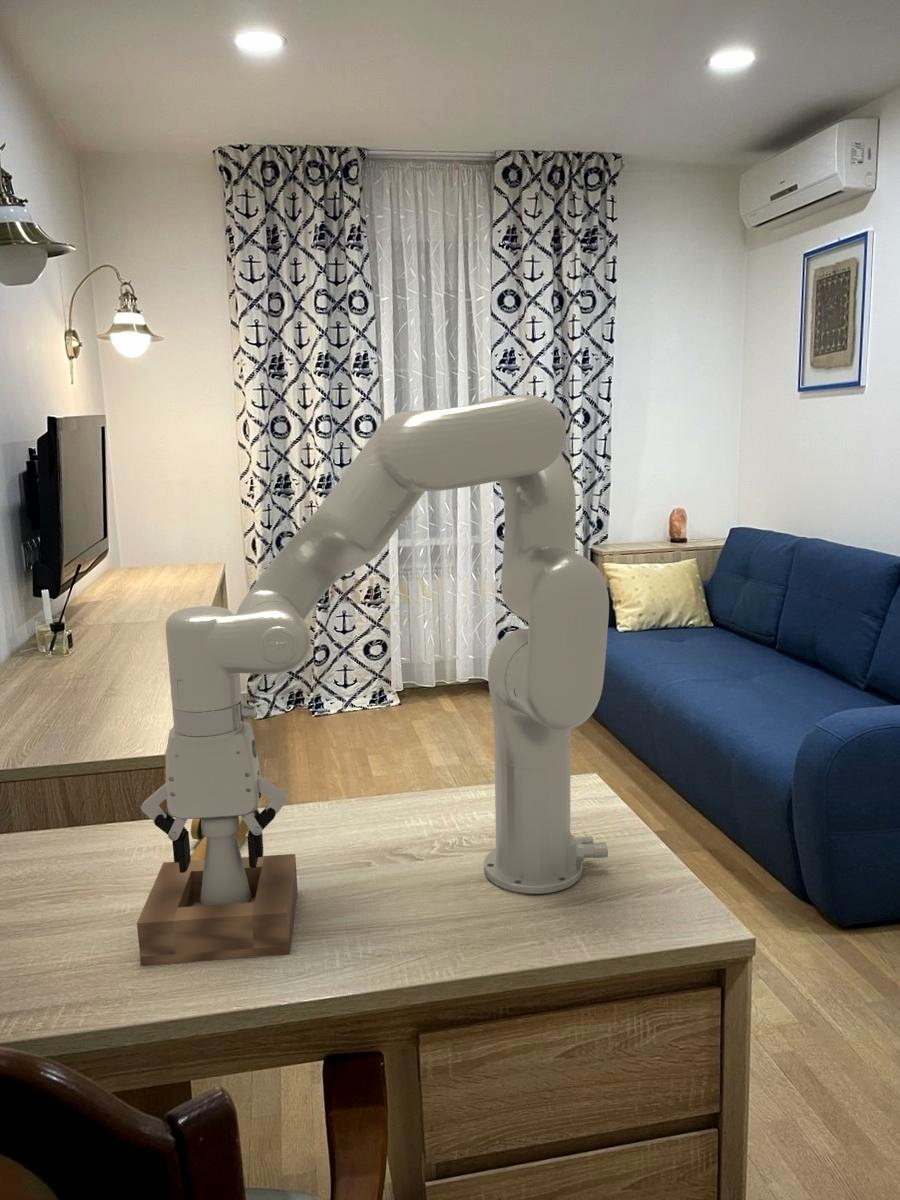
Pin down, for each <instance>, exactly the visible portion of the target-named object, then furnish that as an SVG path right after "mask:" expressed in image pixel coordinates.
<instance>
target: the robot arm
mask: <svg viewBox="0 0 900 1200" xmlns="http://www.w3.org/2000/svg"><path fill="white" fill-rule="evenodd" d="M566 432H567V429H566V423H565V420H564V418H563V416H562V413H561V412H560V410H559V409H558V408H557V407H556V406H555V405H554V404H553V403H552V402H551V401H550V400H548V399H546V398H544V397H541V396H539V395H534V394H514V395H510V394H509V395H508V394H507V395H506V394H505V395H495V396H490V397H486V398H483V399H481V400H480V401H478V402H477V403H475V404H468V405H462V406H455V407H447V408H440V409H439V408H438V409H428V410H426V409H425V410H406V411H401V412H400V411H399V412H397V413H395V414H392V415H390V416H389V417H388V418H387V419H385V420H384V421H383V422H382V423H381V424H380V425H379V426H378V428H377V429H376V430H375V432H374V433H373V434H372V435H371V437H370V438H369V439H368V441H367V442H366V444H365V445H364V446H363V447H362V449H361V450H360V451H359V453H358V454H357V455H356V457H355V458H354V460H353V461H352V462H351V463H350V465H349V466H348V468H347V469H346V471H345V472H344V474H343V475H342V476H341V477H340V479H339V480H338V482H336V485H335V486H334V487H333V488H332V489H331V491H330V492H329V493H328V494H327V495H326V497H325V499H324V500H323V501H322V503H321V504H320V505H319V506H318V508H317V509H316V510H315V511H314V513H312V515H310V517H309V518H308V519H307V520H306V521H305V522H304V523H303V524H302V525H301V527H300V529H298V530H297V532H296V533H295V534H294V535H293V536H292V538H290V539H289V541H288V542H286V544H285V545H284V546H283V547H282V548H281V549H280V551H278V553H277V554H276V555H275V557H274V558H273V559H272V560H271V561H270V563H269V564H268V566H267V567H266V568H265V569H264V571H263V572H262V573H261V575H260V576H259V578H258V579H257V580H256V581H255V583H254V584H253V586H252V587H251V588H250V590H249V591H248V593H246V595H245V597H244V598H243V599H242V601H241V603H240V605H239V606H238V609H237V610H236V613H233V612H232V611H231V610H229V609H228V608H225V607H221V606H216V605H211V606H210V605H205V606H204V605H203V606H200V605H199V606H192V607H186V608H183V609H182V608H181V609H179V610H177V611H174V612H172V613H171V614H170V615H169V616H168V617H167V619H166V622H165V639H166V648H167V660H168V672H169V681H170V682H169V683H170V694H171V695H170V696H171V697H170V698H171V705H172V708H171V709H172V719H173V727H171V728H170V730H169V733H168V738H167V746H166V759H165V761H166V762H165V764H166V765H165V783H164V784H163V785H161V786H160V787H159V788H157V789H156V791H154V792H153V793H152V794H151V795H150V796H148V797H147V798H146V799H145V800H144V801H143V802H142V805H141V807H140V810H141V812H143V814H145V815H146V816H147V817H148V818H149V819H150V820H152V822H153V823H154V825H155V826H156V827H157V828H158V829H160V830H161V831H162V832H164V834H167V838H168V839H169V840H170V841H172V843H171V844H172V852H173V862H175V863H179V869H180V873H185V871H187V869H188V866H189V864H190V861H191V847H190V845H191V844H190V843H191V842H190V835H189V830H188V828H186V827H185V825H186V823H187V821H188V820H193V819H200V818H217V817H232V816H241V817H242V819H243V820H244V822H245V823H246V825H247V826H248V829H249V830H248V833H247V838H246V839H247V851H248V857H249V867H251V868H256V865H257V861H258V857H263V856H264V838H263V830H264V829H266V827H268V825H270V823H271V822H272V821H273V820H274V819H275V817H276V815H277V814H278V813H279V812H280V810H281V809H282V808H283V807H284V806H285V804H286V803H287V801H288V794H287V792H285V791H284V790H282V789H281V788H279V787H278V786H276V785H275V784H273V783H272V782H270V781H268V779H266V778H264V777H263V776H261V772H260V771H261V770H260V763H259V756H258V750H257V749H258V748H257V744H256V739H255V735H254V731H253V727H252V725H251V723H250V722H248V721H246V719H247V720H249V719H250V718H257V717H256V715H257V709H256V708H257V707H256V705H253V704H252V705H249V704H246V703H245V702H244V698H243V697H242V687H241V674H249V675H250V674H251V675H252V674H253V675H270V676H271V675H282V674H286V673H289V672H291V671H294V670H295V669H298V667H300V666H301V665H302V664H303V662H305V661H306V659H307V657H308V655H309V653H310V650H311V645H312V643H311V641H312V640H311V638H312V637H311V634H310V633H311V632H310V630H309V628H308V625H307V623H306V621H305V620H306V618H307V617H308V616H309V614H310V613H311V612H312V610H313V609H314V608H315V606H316V605H317V603H318V602H319V601H320V600H321V599H322V597H323V596H325V594H326V593H327V592H328V591H329V590H330V589H331V587H332V586H333V585H334V584H335V583H337V582H338V581H339V580H340V579H341V578H343V577H344V576H345V575H347V574H348V573H350V572H352V571H354V570H356V569H358V568H360V567H363V566H365V565H367V564H368V563H370V562H371V561H372V560H374V559H375V558H377V556H378V555H380V553H381V552H382V551H383V549H384V548H385V547H386V545H387V543H389V541H390V540H391V538H392V537H393V535H394V534H395V533H396V531H397V530H398V528H399V527H400V525H402V523H403V522H404V520H405V519H406V517H407V516H408V515H409V514H410V512H411V511H412V510H413V509H414V507H415V506H416V504H417V503H418V501H419V500H420V499H421V498H422V496H423V495H424V494H425V492H439V491H450V490H456V489H463V488H467V487H468V488H469V487H475V486H480V485H483V484H488V483H492V482H494V483H495V482H498V484H499V486H500V489H501V493H502V496H503V503H504V504H503V505H504V507H503V508H504V533H503V535H504V536H503V549H502V562H501V563H502V567H501V579H500V587H501V588H500V589H501V596H502V597H501V598H502V600H503V603H504V604H505V605H506V607H507V608H508V609H509V610H510V611H511V612H512V613H513V614H515V615H516V616H518V617H519V618H521V619H523V620H525V621H526V622H527V623H528V628H520V629H519V628H518V629H516V630H513V631H511V632H509V633H507V634H505V635H504V636H502V638H500V639H499V641H498V642H497V643H496V644H495V646H494V647H493V649H492V652H491V654H490V657H489V660H488V666H487V680H488V681H487V682H488V689H489V698H490V703H491V709H492V720H493V731H494V733H493V734H494V735H493V737H494V738H493V739H494V794H495V796H494V802H495V807H494V808H495V848H494V849H493V850H491V851H490V852H489V853H488V854H487V855H485V858H484V861H483V863H484V864H483V865H484V867H483V870H484V874H485V876H486V877H487V879H489V881H490V882H491V883H493V884H495V885H496V886H497V887H500V888H502V889H504V890H507V891H511V892H516V893H520V894H530V895H534V894H536V895H541V894H549V893H552V894H553V893H556V892H560V891H562V890H565V889H568V888H569V887H571V886H574V885H575V884H576V883H578V882H579V880H580V879H581V877H582V876H583V862H584V860H585V859H603V858H608V856H609V855H608V854H609V849H608V844H607V842H606V841H600V842H599V841H598V842H594V839H593V836H582V837H575V835H572V832H571V757H572V750H571V749H572V748H571V747H572V744H571V742H572V741H571V740H572V739H571V729H575V728H577V727H579V726H581V725H582V724H583V723H585V722H586V721H587V720H588V719H589V718H590V717H591V716H592V715H593V713H594V712H595V710H596V709H597V706H598V705H599V702H600V700H601V695H602V692H603V686H604V678H605V668H606V656H607V646H608V645H607V644H608V643H607V642H608V628H609V627H608V626H609V616H610V615H609V614H610V610H609V609H610V599H609V593H608V592H609V591H608V588H607V584H606V581H605V578H604V576H603V574H602V572H601V571H600V569H599V568H598V566H596V565H595V563H593V561H591V560H590V559H588V558H586V557H585V556H583V555H581V554H579V553H576V530H577V529H576V526H577V525H576V522H577V521H576V516H577V515H576V514H577V513H576V512H577V510H576V509H577V505H576V503H577V500H576V499H577V498H576V490H575V484H574V480H573V476H572V473H571V470H570V468H569V466H568V464H567V461H566V459H565V457H564V455H563V453H562V451H563V449H564V446H565V444H566V437H567V433H566ZM262 796H264V797H266V798H268V799H269V800H270V803H269V804H268V805H267V806H266V807H265V808H264V809H263V810H262V811H261V812H260V810H259V809H258V806H259V799H261V797H262ZM165 800H166V808H167V812H166V811H164V810H162V808H161V807H160V805H161V804H162V803H163V802H164V801H165Z"/></svg>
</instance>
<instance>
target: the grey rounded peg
mask: <svg viewBox="0 0 900 1200" xmlns="http://www.w3.org/2000/svg"><path fill="white" fill-rule="evenodd" d="M201 830H202V834H203V835H204V836H205V837H207V843H206V852H205V861H204V870H203V879H202V888H201V897H200V903H201V906H206V905H221V904H235V903H249V902H251V891H250V887H249V884H248V880H247V876H246V872H245V868H244V865H243V861H242V854H241V850H240V847H239V846H238V842H237V838H236V833H237V831H238V830H239V817H238V816H232V817H217V818H202V819H201Z"/></svg>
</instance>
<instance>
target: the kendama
mask: <svg viewBox="0 0 900 1200" xmlns="http://www.w3.org/2000/svg"><path fill="white" fill-rule="evenodd" d="M238 817H239V830H238V831H237V833H236V838H237V842H238V846H240V847H241V846H242V845H243V844H242V842H243V841H244V842H245V839H246V836H247V835H248V833H247V832H248V829H249V828H248V826H247V825H246V823H245V822H244V820H243V819H242V817H241V816H238ZM201 819H202V818H200V819H191V820H192V821H191V824H190V825H191V827H190V835H191V838H192V839H193V840H198V841H200V842H199V843H198V844H197V846H196V847H195V849H194V850H193V852H192V853H190V855H191V861H194V860H205V852H206V843H207V837H205V836H204V835H203V834H202V830H201ZM244 842H243V843H244ZM241 844H242V845H241Z"/></svg>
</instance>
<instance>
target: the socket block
mask: <svg viewBox="0 0 900 1200" xmlns="http://www.w3.org/2000/svg"><path fill="white" fill-rule="evenodd" d="M241 857H242V856H241ZM204 861H205V860H194V861H190V864H189V866H188V869H187V871H185V873H180V869H179V863H175V862H174V861H167V862H165V861H164V862H162V864H161V867H160V868H159V871H158V874H157V876H156V879H155V881H154V883H153V885H152V887H151V890H150V891H149V895H148V897H147V899H146V902H145V903H144V905H143V906H144V907H143V908H142V911H141V912H140V915H139V918H138V919H137V922H136V927H137V928H136V929H137V939H138V949H139V950H138V951H139V958H140V966H149V965H150V966H151V965H161V964H176V963H177V964H178V963H189V962H190V963H191V962H202V961H203V962H204V961H216V960H217V961H218V960H228V959H229V960H231V959H241V958H256V957H269V956H272V957H273V956H281V955H282V956H283V955H284V956H285V955H290V954H291V953H290V952H291V946H292V945H291V944H292V936H293V930H294V929H293V928H294V920H295V914H296V908H297V905H296V904H297V898H298V892H297V891H298V877H297V875H298V873H297V859H296V853H289V854H273V855H263V857H258V861H257V865H256V868H251V867H249V856H244V857H242V861H243V865H244V868H245V872H246V876H247V880H248V884H249V887H250V891H251V902H249V903H235V904H221V905H206V906H201V903H200V897H201V888H202V879H203V870H204Z"/></svg>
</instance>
